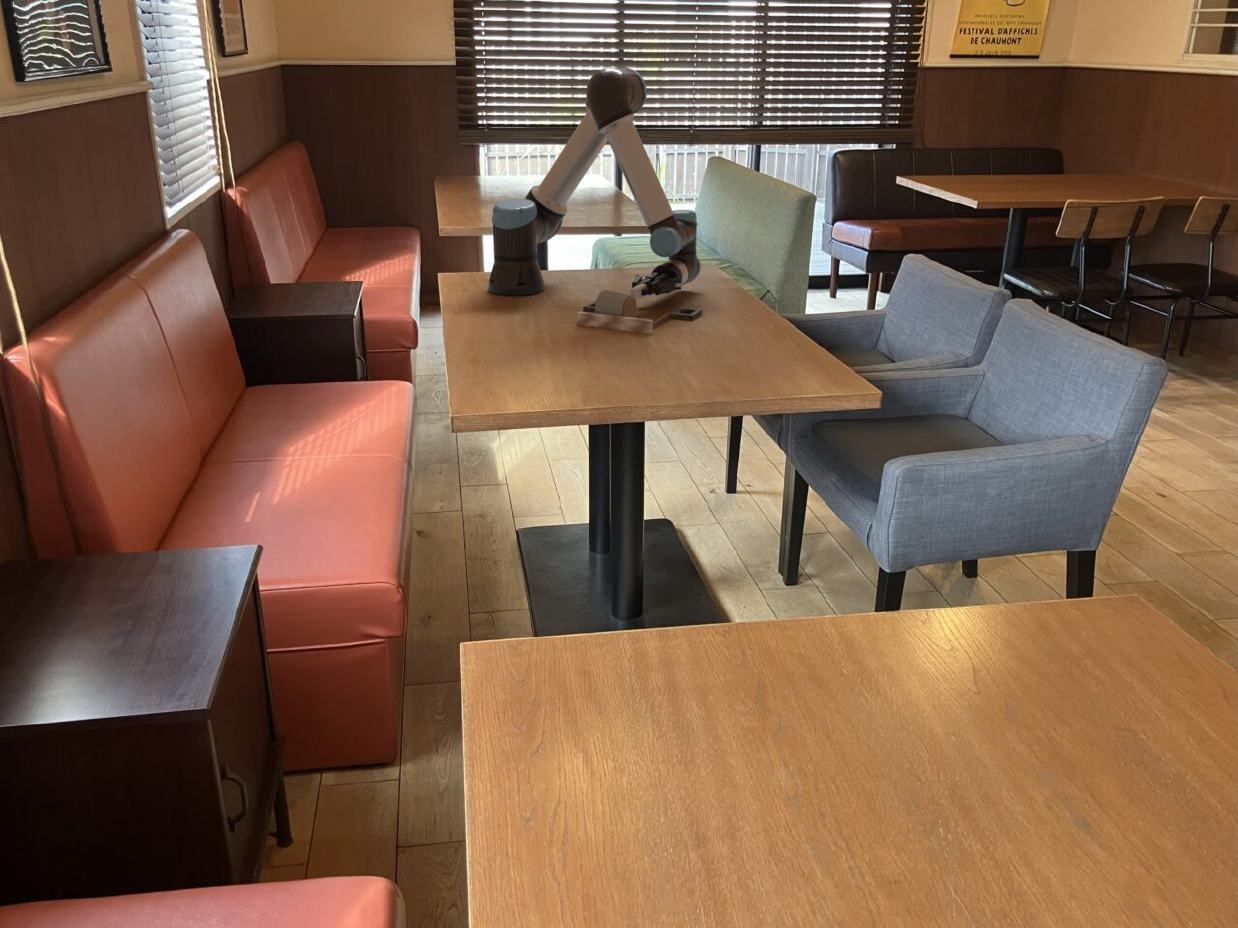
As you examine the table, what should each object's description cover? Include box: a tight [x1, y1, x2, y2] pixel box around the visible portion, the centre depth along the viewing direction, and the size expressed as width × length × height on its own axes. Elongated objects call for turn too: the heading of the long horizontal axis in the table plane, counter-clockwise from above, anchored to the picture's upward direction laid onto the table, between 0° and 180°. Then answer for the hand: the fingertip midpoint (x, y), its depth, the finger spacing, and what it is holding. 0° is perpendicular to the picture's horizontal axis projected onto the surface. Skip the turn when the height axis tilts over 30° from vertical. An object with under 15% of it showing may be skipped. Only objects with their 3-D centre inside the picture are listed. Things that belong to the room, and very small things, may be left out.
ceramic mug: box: [595, 289, 638, 318], centre depth 247 cm, size 11×8×8 cm
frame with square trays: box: [576, 300, 703, 335], centre depth 251 cm, size 28×23×3 cm
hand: (633, 294), depth 249 cm, fingers closed
